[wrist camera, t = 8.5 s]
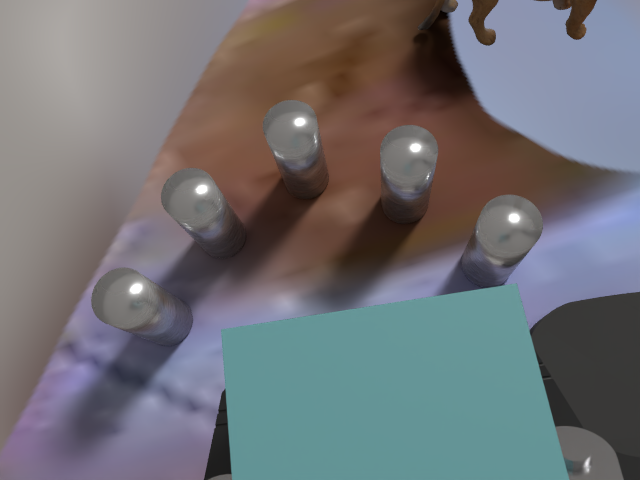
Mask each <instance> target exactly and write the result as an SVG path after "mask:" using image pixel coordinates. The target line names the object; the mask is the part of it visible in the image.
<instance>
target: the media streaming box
mask: <svg viewBox="0 0 640 480" xmlns="http://www.w3.org/2000/svg"><path fill="white" fill-rule="evenodd" d="M530 335H531V339H532V342H533V346H534V349H535V350H536V352H537V354H538V355H539V357H540V359H541V360H542V362H543V365H545V367H546V368H547V370H548V371H549V373H550V375H551V378H552V379H554V381H555V383H556V384H557V386H558V388H559V389H560V391H561V392H562V394H563V396H564V397H565V399H566V400H567V402H568V404H569V405H570V407H571V408H572V410H573V412H574V413H575V415H576V417H577V418H578V420H579V421H580V423H581V425H582V426H583V428H584V429H585V430H588V431H590V432H593V433H595V434H596V435H598V436H600V437H601V438H603V439H604V440H605V441H606V442H607V443H608V444H609V445H610V446H611V447H612V448H613V450H614V451H616V452H619V453H621V454H625V455H629V456H634V457H640V292H635V293H627V294H619V295H612V296H605V297H599V298H593V299H587V300H581V301H576V302H570V303H567V304H564V305H562V306H560V307H558V308H556V309H555V310H553V311H551V312H550V313H549V314H547V315H546V316H545V317H543V318H542V319H541V320H539V321H538V322H537V323H536V324H535V325H534V326H533V327H532V328H531V329H530Z"/></svg>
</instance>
